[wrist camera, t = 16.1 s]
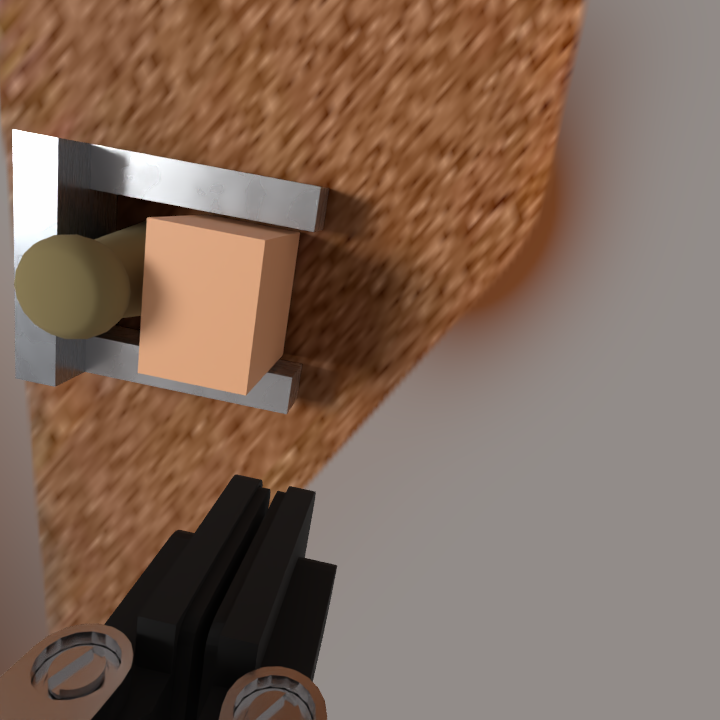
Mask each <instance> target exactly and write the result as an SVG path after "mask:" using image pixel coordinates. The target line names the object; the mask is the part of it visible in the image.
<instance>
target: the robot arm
mask: <svg viewBox="0 0 720 720" xmlns="http://www.w3.org/2000/svg"><path fill="white" fill-rule="evenodd" d="M262 486H263V484H262V480H259V479H255V478H250V477H246V476H241V475H234V477H233V478H232V479H231V481H230V482H229V484H228V485H227V487H226V488H225V490H224V491H223V492H222V494H221V495H220V497H219V498H218V500H217V501H216V503H215V504H214V506H213V507H212V508H211V510H210V511H209V513H208V514H207V516H206V517H205V519H204V520H203V522H202V523H201V525H200V526H199V527H198V529H197V530H196V532H195V533H191V532H187V531H182V530H177V531H175V532H174V533H173V534H172V535H171V537H170V538H169V539H168V541H167V542H166V543H165V545H164V546H163V547H162V549H161V550H160V551H159V553H158V554H157V555H156V557H155V558H154V559H153V561H152V562H151V563H150V565H149V566H148V567H147V569H146V570H145V571H144V573H143V574H142V575H141V577H140V578H139V579H138V581H137V582H136V583H135V585H134V586H133V587H132V589H131V590H130V591H129V593H128V594H127V595H126V597H125V598H124V599H123V600H122V602H121V603H120V604H119V606H118V607H117V608H116V610H115V611H114V612H113V614H112V615H111V616H110V618H109V619H108V620H107V622H106V623H105V624H104V625H102V624H80V625H76V626H72V627H67V628H64V629H62V630H60V631H58V632H55V633H53V634H51V635H49V636H47V637H46V638H45V639H43V640H42V641H41V642H39V643H38V644H36V645H35V646H34V647H33V648H32V649H31V650H29V651H28V653H26V654H25V655H24V656H23V657H22V658H21V659H20V660H18V661H17V662H16V663H15V664H14V665H13V666H12V667H11V668H10V669H8V670H7V671H6V672H5V673H4V674H3V675H2V676H1V677H0V720H327V713H326V706H325V700H324V698H323V696H322V694H321V693H320V691H319V689H318V687H317V686H316V685H315V684H314V683H313V678H314V673H315V669H316V664H317V660H318V656H319V651H320V647H321V642H322V638H323V633H324V628H325V624H326V619H327V614H328V609H329V605H330V599H331V594H332V590H333V584H334V579H335V574H336V569H337V565H333V564H329V563H325V562H320V561H316V560H311V559H307V558H305V552H306V547H307V541H308V535H309V530H310V524H311V518H312V513H313V507H314V501H315V494H316V493H315V492H314V491H310V490H305V489H301V488H296V487H292V486H289V488H288V489H287V492H286V493H285V492H281V491H277V493H276V495H275V497H274V499H273V501H272V503H271V505H270V507H269V500H270V489H267V488H262ZM268 507H269V509H268Z"/></svg>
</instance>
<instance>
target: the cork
mask: <svg viewBox="0 0 720 720" xmlns="http://www.w3.org/2000/svg"><path fill="white" fill-rule="evenodd" d="M146 226H147V221H144V222H142V223H139V224H136V225H133V226H130V227H128V228H125V229H122V230H119V231H116V232H114V233H111V234H108V235H105V236H102V237H100V238H97V239H94V240H93V239H90V238H87V237H84V236H81V235H78V234H71V235H53V236H51V237H48V238H45V239H43V240H40V241H38V242H37V243H35V244H33V245H32V246H31V247H30V248H29V249H28V250H27V251H26V252H25V253H24V254H23V256H22V258H21V260H20V262H19V265H18V267H17V269H16V272H15V282H14V286H15V291H16V296H17V300H18V302H19V304H20V306H21V308H22V310H23V312H24V313H25V314H26V315H27V317H28V318H29V319H30V320H31V321H32V322H33V323H34V324H35V325H37V326H38V327H40V328H41V329H43V330H44V331H46V332H47V333H49V334H51V335H54V336H57V337H60V338H64V339H89V338H91V337H94V336H97V335H100V334H102V333H105V332H107V331H108V330H109V329H111V328H112V327H113V326H114V325H115V324H117V323H118V322H119V321H120V319H121V318H127V317H134V316H141V310H142V293H143V276H144V259H145V243H146Z"/></svg>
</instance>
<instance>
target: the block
mask: <svg viewBox="0 0 720 720" xmlns="http://www.w3.org/2000/svg"><path fill="white" fill-rule="evenodd" d="M299 237H300V232H297V231H292V230H286V229H281V228H276V227H271V226H266V225H260V224H255V223H250V222H245V221H239V220H234V219H229V218H224V217H219V216H213V215H187V216H166V217H147V226H146V243H145V259H144V276H143V293H142V310H141V327H140V343H139V360H138V373H140V374H145V375H150V376H155V377H160V378H164V379H169V380H174V381H179V382H183V383H188V384H193V385H198V386H202V387H207V388H212V389H217V390H222V391H226V392H231V393H236V394H241V395H245V396H246V395H247V394H248V393H249V392H250V391H251V390H252V388H253V387H254V386H255V385H256V384H257V383H258V382H259V381H260V380H261V379H262V377H263V376H264V375H265V374H266V373H267V372H268V371H269V370H270V369H271V368H272V366H273V365H274V364H275V363H276V362H277V361H278V360H279V359H280V358H281V357H282V355H283V350H284V343H285V336H286V329H287V322H288V315H289V308H290V301H291V294H292V287H293V280H294V273H295V265H296V258H297V251H298V244H299Z"/></svg>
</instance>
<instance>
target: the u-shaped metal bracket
mask: <svg viewBox="0 0 720 720" xmlns="http://www.w3.org/2000/svg"><path fill="white" fill-rule="evenodd" d="M13 194H14V279H15V272H16V269H17V267H18V265H19V262H20V260H21V258H22V256H23V254H24V253H25V252H26V251H27V250H28V249H29V248H30V247H31V246H32V245H33V244H35V243H37V242H38V241H40V240H43V239H45V238H48V237H51V236H53V235H71V234H78V235H81V236H84V237H87V238H90V239H93V240H94V239H97V238H100V237H102V236H105V235H108V234H111V233H114V232H116V219H117V196H118V194H119V195H124V196H129V197H134V198H139V199H145V200H150V201H155V202H160V203H166V204H171V205H176V206H181V207H186V208H192V209H197V210H202V211H207V212H212V213H218V214H223V215H228V216H233V217H238V218H244V219H249V220H254V221H259V222H264V223H270V224H275V225H280V226H285V227H291V228H296V229H301V230H306V231H311V232H316V231H320V230H323V226H324V220H325V214H326V207H327V201H328V194H329V188H324V187H318V186H313V185H308V184H302V183H297V182H292V181H286V180H281V179H276V178H270V177H265V176H260V175H254V174H249V173H244V172H238V171H233V170H228V169H222V168H217V167H212V166H206V165H201V164H196V163H190V162H185V161H180V160H174V159H169V158H164V157H158V156H153V155H148V154H142V153H137V152H132V151H126V150H121V149H116V148H110V147H105V146H100V145H94V144H89V143H84V142H78V141H73V140H67V139H62V138H56V137H51V136H46V135H40V134H35V133H29V132H24V131H18V130H13ZM14 281H15V280H14ZM139 343H140V331H139V330H134V329H129V328H124V327H119V326H115V325H114V326H113V327H112V328H111V329H109V330H108V331H107V332H105V333H102V334H100V335H97V336H94V337H91V338H89V339H64V338H60V337H57V336H54V335H51V334H49V333H47V332H46V331H44V330H43V329H41V328H40V327H38V326H37V325H35V324H34V323H33V322H32V321H31V320H30V319H29V318H28V317H27V315H26V314H25V313H24V312H23V310H22V308H21V306H20V304H19V302H18V300H17V296H16V291H15V365H16V366H15V369H16V378H17V379H22V380H26V381H31V382H36V383H40V384H45V385H50V386H57V385H59V384H61V383H63V382H65V381H67V380H69V379H71V378H73V377H75V376H77V375H79V374H81V373H83V372H89V373H94V374H98V375H103V376H108V377H113V378H117V379H122V380H127V381H132V382H136V383H141V384H146V385H151V386H155V387H160V388H165V389H170V390H174V391H179V392H184V393H189V394H193V395H198V396H203V397H208V398H212V399H217V400H222V401H227V402H231V403H236V404H241V405H246V406H250V407H255V408H260V409H265V410H269V411H274V412H279V413H284V414H287V413H288V411H289V410H290V408H291V407H292V405H293V404H294V402H295V400H296V399H297V395H298V388H299V382H300V375H301V369H302V364H300V363H295V362H290V361H285V360H280V359H279V360H278V361H277V362H276V363H275V364H274V365H273V366H272V368H271V369H270V370H269V371H268V372H267V373H266V374H265V375H264V376H263V377H262V379H261V380H260V381H259V382H258V383H257V384H256V385H255V386H254V387H253V388H252V390H251V391H250V392H249V393H248V394H247V395H246V396H245V395H241V394H236V393H231V392H226V391H222V390H217V389H212V388H207V387H202V386H198V385H193V384H188V383H183V382H179V381H174V380H169V379H164V378H160V377H155V376H150V375H145V374H140V373H138V360H139Z"/></svg>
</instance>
